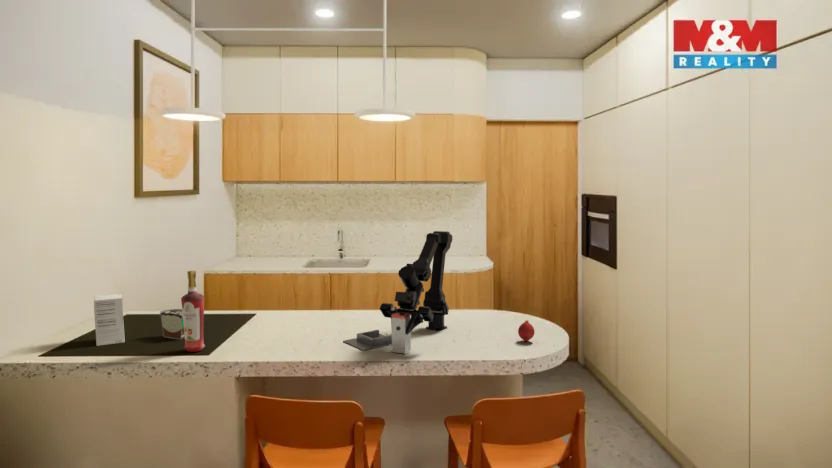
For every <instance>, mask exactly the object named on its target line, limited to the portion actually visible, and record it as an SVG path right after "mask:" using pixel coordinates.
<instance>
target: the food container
mask: <svg viewBox="0 0 832 468" xmlns="http://www.w3.org/2000/svg"><path fill="white" fill-rule="evenodd" d="M159 317H160V318H161V319H160V320H161V329H162V337H163V338H168V339H174V340H181V341H182V340H185V334H184V322H183V314H182V308H181V309H180V308H173V309H172V308H171V309H164V310H163V309H162V310H160V312H159Z"/></svg>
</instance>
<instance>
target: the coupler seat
mask: <svg viewBox="0 0 832 468" xmlns="http://www.w3.org/2000/svg"><path fill="white" fill-rule="evenodd" d="M342 342H343V343H345V344H348V345H349V346H352V347H354V348H356V349H359V350H361V351H363V352H364V351H368V350H373V349H377V348H382V346H383V347H386V345H387V346H391V345H390V344H392V334H388V335H384V334H381V333H380V329H374V330H370V331H364V332H359V333H356V337H355V338H351V339H350V338H349V339H345V340H343V341H342Z"/></svg>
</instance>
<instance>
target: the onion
mask: <svg viewBox="0 0 832 468" xmlns="http://www.w3.org/2000/svg"><path fill="white" fill-rule="evenodd" d="M517 334H518V336H519V338H520V339H521V340H523V341H524V342H529V341H530V340H531V339H533V337H534V335H535V328H534V326H533V325H532V324H531V323H530V322H529V320H528V319H527V320H524V322H522V323H521V324H520V326H519V327H518V329H517Z"/></svg>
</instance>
